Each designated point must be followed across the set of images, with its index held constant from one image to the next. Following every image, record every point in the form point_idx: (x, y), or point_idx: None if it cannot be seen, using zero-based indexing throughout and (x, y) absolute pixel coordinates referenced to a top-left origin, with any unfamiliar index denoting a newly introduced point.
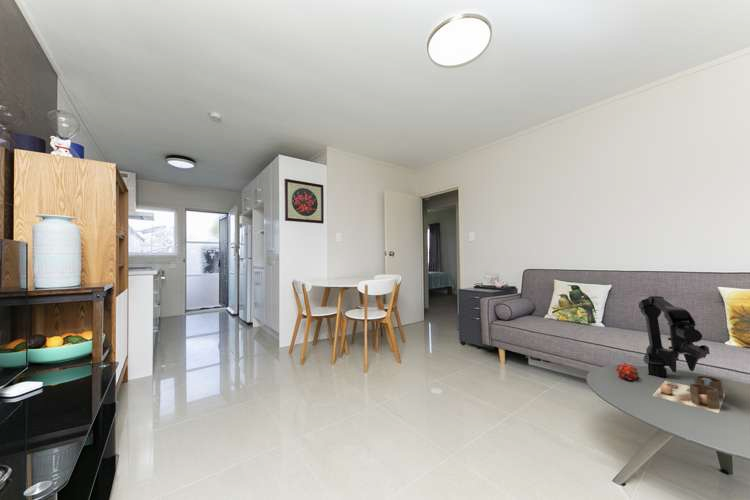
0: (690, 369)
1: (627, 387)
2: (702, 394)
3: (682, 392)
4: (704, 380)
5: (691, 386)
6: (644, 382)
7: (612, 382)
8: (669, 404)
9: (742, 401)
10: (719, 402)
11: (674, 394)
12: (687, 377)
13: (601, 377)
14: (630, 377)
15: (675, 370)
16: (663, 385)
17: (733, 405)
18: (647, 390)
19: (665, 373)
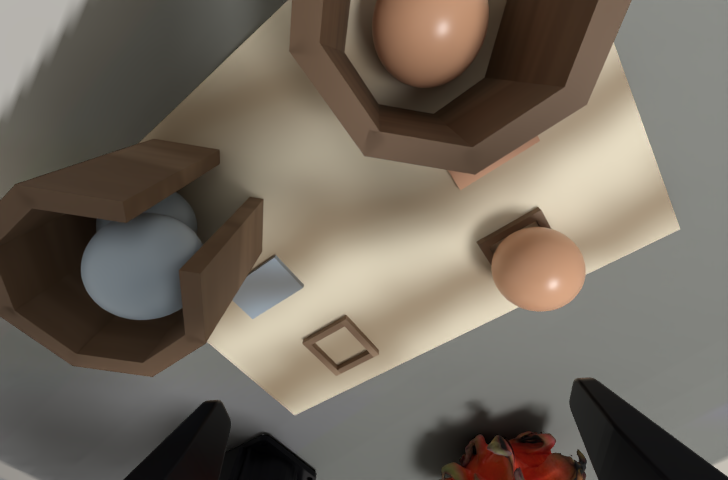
0: (223, 432)
1: (643, 365)
2: (448, 32)
3: (366, 263)
4: (166, 269)
5: (595, 72)
6: (436, 411)
7: None
8: (717, 80)
9: (15, 106)
10: (247, 65)
11: (469, 236)
12: (105, 440)
13: None
14: (542, 451)
15: (621, 405)
16: (575, 292)
17: (153, 29)
18: (561, 320)
19: (236, 473)
